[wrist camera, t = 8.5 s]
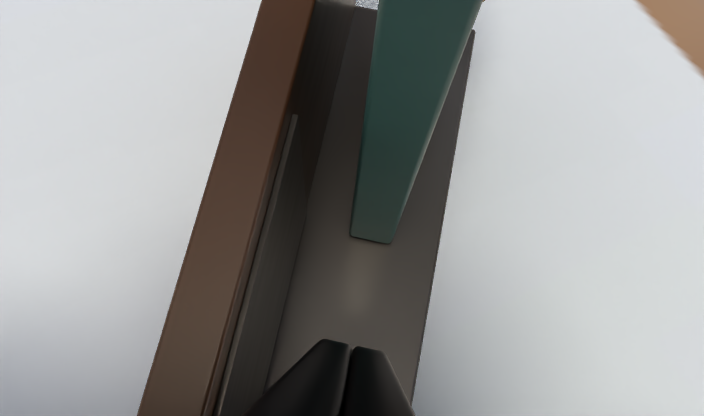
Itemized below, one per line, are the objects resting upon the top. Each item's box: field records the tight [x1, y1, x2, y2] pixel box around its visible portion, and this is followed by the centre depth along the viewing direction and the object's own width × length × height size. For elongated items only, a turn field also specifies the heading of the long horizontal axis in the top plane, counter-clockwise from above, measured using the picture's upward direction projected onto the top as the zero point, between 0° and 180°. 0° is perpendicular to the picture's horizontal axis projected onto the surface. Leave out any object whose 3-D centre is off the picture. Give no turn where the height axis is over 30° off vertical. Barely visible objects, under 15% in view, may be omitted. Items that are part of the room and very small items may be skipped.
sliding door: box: [349, 0, 485, 244], centre depth 11 cm, size 6×2×10 cm, turn 168°
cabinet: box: [137, 0, 475, 416], centre depth 12 cm, size 12×4×7 cm, turn 168°
